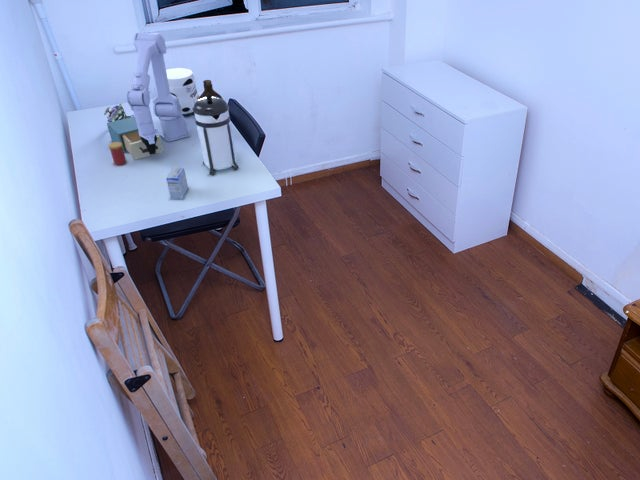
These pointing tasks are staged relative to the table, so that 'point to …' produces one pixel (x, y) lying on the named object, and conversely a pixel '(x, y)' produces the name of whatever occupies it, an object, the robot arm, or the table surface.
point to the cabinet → (122, 129)
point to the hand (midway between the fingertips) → (152, 153)
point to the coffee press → (215, 133)
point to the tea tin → (117, 153)
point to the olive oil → (209, 90)
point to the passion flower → (116, 113)
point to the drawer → (138, 145)
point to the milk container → (183, 88)
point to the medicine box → (177, 183)
